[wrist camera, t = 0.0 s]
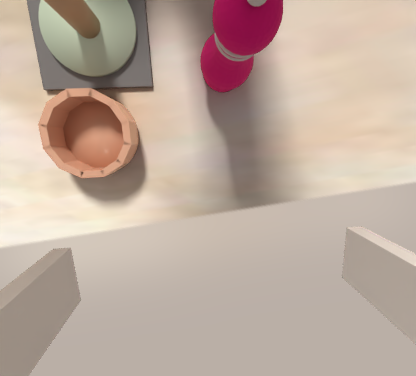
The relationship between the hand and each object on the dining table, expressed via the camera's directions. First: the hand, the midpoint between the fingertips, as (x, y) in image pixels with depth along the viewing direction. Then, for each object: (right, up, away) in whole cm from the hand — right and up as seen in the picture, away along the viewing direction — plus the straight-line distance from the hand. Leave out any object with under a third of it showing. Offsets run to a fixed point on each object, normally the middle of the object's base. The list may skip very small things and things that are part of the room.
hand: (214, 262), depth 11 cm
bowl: (-18, +12, +25) cm, 33 cm away
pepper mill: (+2, +22, +24) cm, 33 cm away
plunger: (-17, +27, +21) cm, 38 cm away
